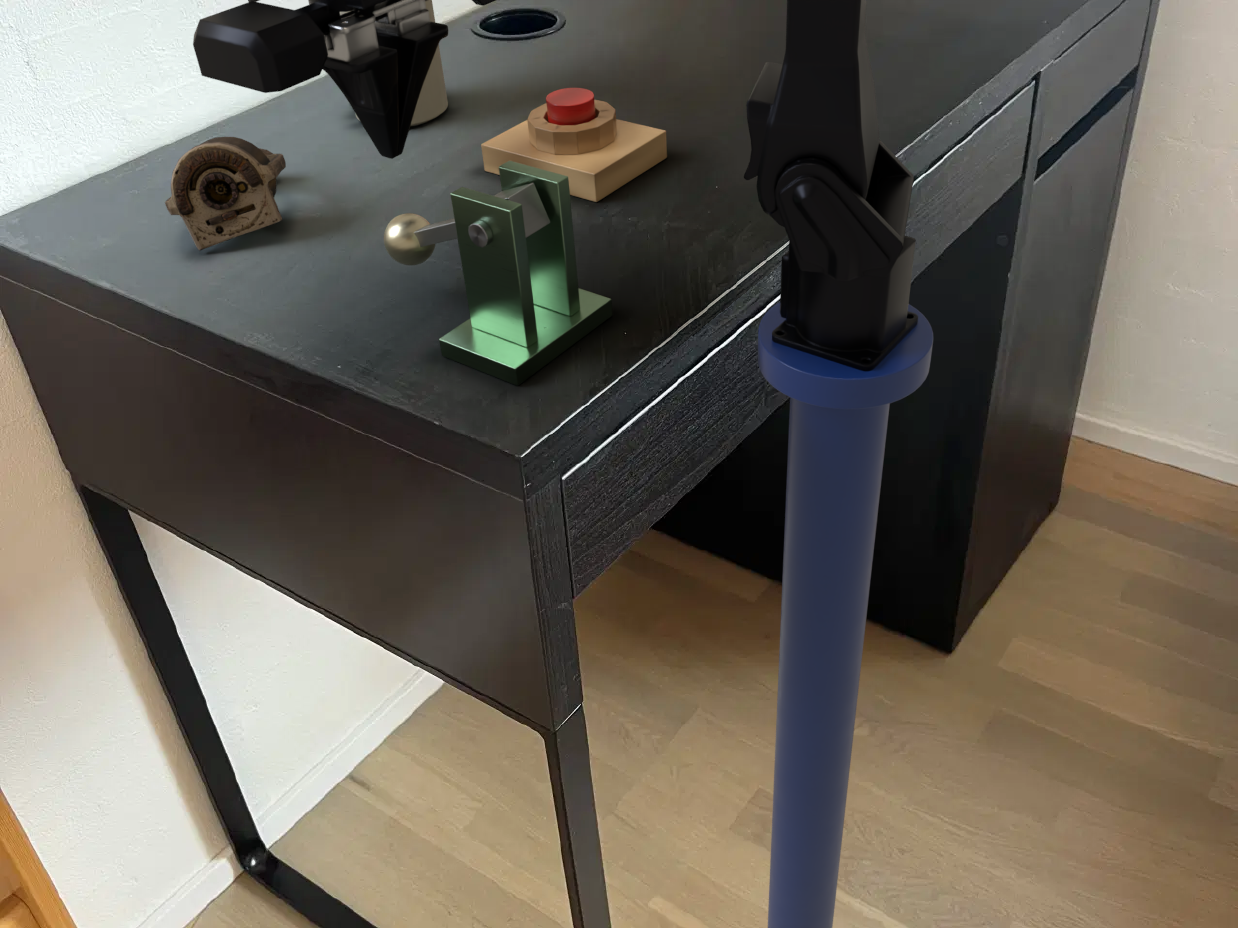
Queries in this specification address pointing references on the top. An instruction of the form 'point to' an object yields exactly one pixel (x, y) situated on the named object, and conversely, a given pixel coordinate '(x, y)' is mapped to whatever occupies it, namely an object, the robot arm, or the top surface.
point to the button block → (580, 150)
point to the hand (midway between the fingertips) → (391, 155)
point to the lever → (452, 227)
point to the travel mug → (430, 86)
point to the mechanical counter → (225, 190)
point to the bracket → (519, 280)
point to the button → (570, 106)
